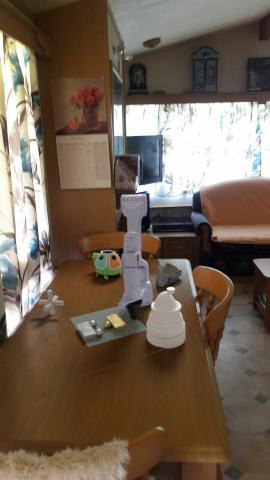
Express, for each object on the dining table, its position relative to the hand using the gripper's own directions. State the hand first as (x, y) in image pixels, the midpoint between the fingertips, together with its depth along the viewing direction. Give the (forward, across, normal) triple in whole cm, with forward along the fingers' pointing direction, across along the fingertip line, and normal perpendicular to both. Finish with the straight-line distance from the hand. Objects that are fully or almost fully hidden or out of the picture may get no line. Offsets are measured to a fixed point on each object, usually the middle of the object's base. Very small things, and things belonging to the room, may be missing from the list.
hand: (133, 318), depth 131 cm
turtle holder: (+2, -32, -39) cm, 51 cm away
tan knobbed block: (+1, +7, -4) cm, 8 cm away
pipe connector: (+1, +12, -31) cm, 33 cm away
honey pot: (+2, +3, +15) cm, 16 cm away
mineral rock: (+2, -38, -7) cm, 38 cm away
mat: (+1, +7, -7) cm, 10 cm away
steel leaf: (+1, +15, -8) cm, 17 cm away
